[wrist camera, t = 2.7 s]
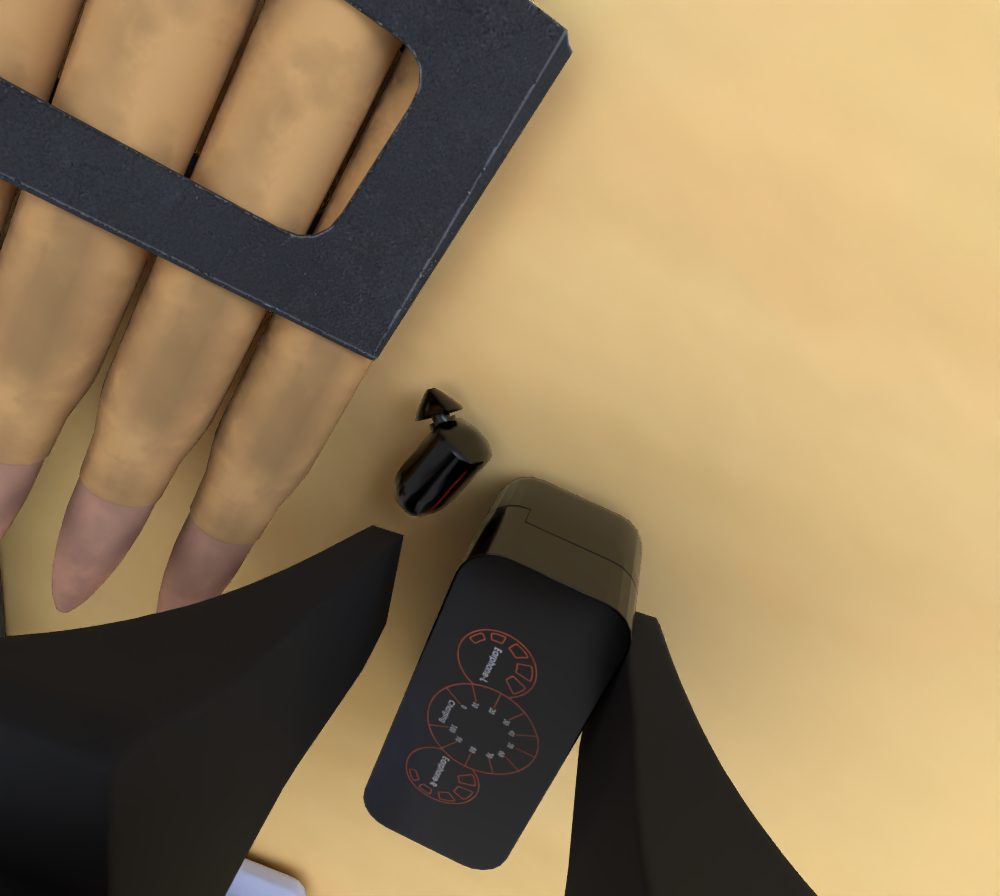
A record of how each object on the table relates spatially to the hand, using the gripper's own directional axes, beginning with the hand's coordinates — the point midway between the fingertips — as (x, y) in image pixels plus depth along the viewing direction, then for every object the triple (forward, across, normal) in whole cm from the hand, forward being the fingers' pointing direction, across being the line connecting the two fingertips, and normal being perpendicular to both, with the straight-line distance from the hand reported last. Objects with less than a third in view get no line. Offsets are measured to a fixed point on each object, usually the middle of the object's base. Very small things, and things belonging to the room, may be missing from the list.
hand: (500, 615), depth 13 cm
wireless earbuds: (+2, 0, 0) cm, 2 cm away
